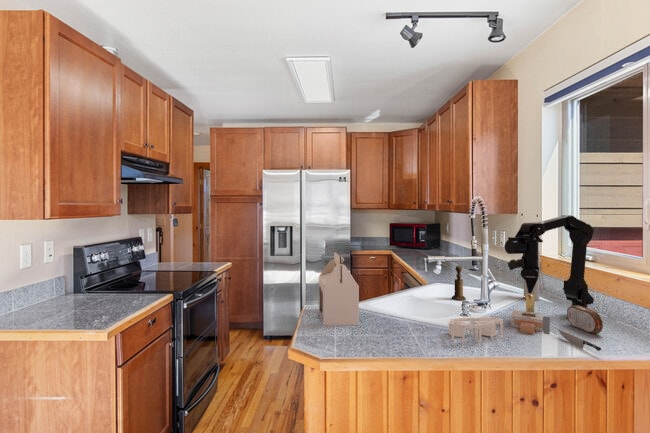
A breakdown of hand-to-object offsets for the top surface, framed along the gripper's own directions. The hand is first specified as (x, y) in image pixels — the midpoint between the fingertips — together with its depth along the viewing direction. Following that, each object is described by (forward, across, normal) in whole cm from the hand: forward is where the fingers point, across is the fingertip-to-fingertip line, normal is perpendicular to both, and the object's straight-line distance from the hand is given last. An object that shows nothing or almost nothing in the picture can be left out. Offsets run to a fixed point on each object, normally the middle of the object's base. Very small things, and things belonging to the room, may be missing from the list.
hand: (530, 290), depth 155 cm
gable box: (+12, +45, -66) cm, 81 cm away
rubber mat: (+12, +6, 0) cm, 13 cm away
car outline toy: (+12, +38, -15) cm, 43 cm away
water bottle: (+12, -41, 0) cm, 43 cm away
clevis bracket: (+12, +12, 0) cm, 17 cm away
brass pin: (+12, 0, 0) cm, 12 cm away
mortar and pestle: (+12, -17, -32) cm, 38 cm away
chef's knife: (+12, +27, +15) cm, 33 cm away
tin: (+12, +5, +18) cm, 22 cm away
